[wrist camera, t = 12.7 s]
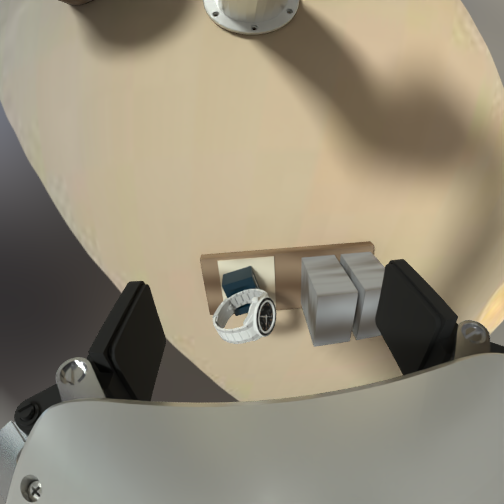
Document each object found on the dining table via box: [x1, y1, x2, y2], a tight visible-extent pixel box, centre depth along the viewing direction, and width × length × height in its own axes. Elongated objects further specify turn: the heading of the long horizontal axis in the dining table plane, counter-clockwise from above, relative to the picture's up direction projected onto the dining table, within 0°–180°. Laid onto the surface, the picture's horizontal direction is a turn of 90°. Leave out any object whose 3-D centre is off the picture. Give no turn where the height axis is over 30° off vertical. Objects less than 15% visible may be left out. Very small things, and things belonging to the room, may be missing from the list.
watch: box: [213, 266, 276, 344], centre depth 36 cm, size 6×8×11 cm
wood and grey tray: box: [200, 242, 385, 346], centre depth 38 cm, size 10×26×12 cm, turn 94°
